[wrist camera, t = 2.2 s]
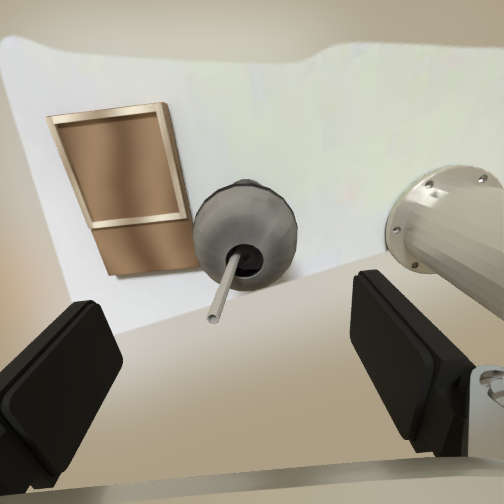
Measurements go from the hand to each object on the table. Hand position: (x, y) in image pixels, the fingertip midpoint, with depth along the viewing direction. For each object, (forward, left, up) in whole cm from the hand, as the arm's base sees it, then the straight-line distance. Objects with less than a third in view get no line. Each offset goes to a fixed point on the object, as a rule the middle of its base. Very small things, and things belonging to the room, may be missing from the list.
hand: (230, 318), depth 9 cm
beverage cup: (0, 0, -21) cm, 21 cm away
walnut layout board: (+12, -1, -20) cm, 23 cm away
